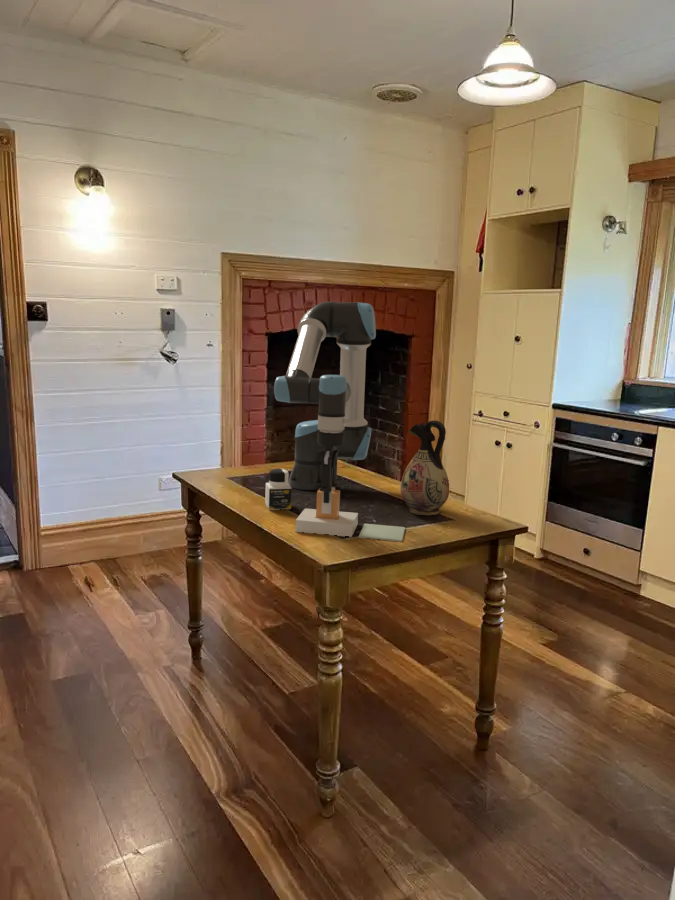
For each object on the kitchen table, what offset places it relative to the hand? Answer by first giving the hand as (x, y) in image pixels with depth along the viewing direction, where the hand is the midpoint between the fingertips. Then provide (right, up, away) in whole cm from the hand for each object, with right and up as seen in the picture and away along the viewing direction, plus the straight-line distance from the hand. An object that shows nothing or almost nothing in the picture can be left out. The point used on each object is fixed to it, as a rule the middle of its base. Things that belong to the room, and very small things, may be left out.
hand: (327, 510), depth 196 cm
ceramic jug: (+31, -3, +21) cm, 37 cm away
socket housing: (0, -5, +1) cm, 5 cm away
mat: (+16, -6, -1) cm, 17 cm away
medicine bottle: (-16, -1, +21) cm, 26 cm away
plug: (0, -5, +1) cm, 5 cm away
